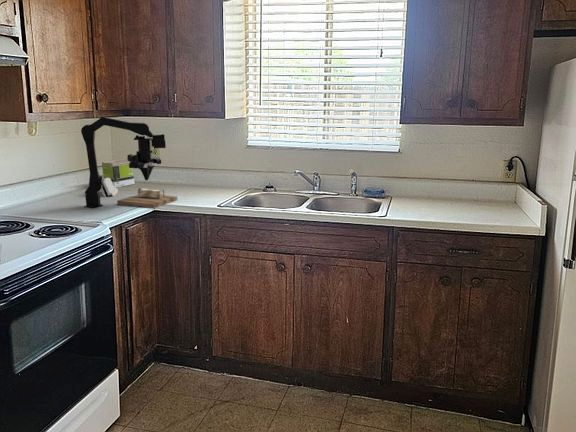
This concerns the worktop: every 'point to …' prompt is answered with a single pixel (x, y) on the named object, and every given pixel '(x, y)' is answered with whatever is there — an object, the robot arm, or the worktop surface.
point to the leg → (150, 193)
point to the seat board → (147, 201)
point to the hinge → (108, 188)
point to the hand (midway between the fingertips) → (146, 180)
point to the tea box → (118, 172)
